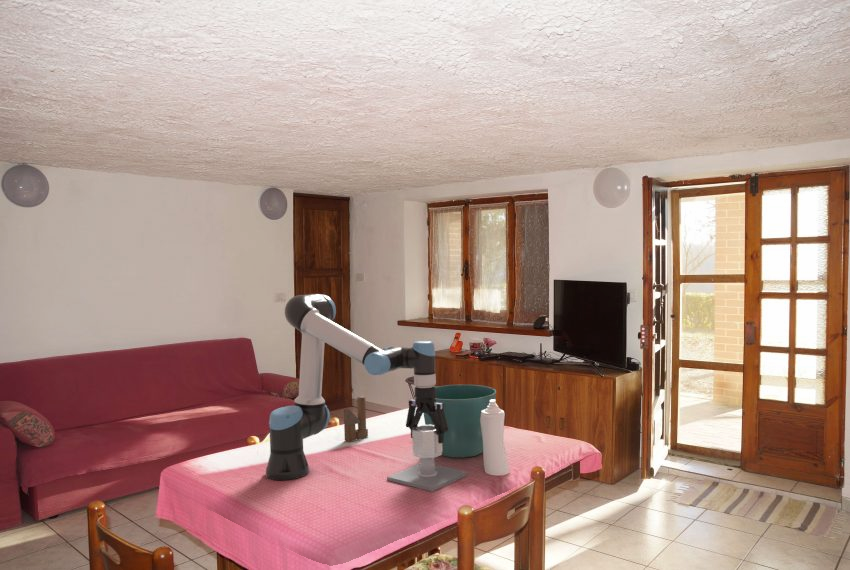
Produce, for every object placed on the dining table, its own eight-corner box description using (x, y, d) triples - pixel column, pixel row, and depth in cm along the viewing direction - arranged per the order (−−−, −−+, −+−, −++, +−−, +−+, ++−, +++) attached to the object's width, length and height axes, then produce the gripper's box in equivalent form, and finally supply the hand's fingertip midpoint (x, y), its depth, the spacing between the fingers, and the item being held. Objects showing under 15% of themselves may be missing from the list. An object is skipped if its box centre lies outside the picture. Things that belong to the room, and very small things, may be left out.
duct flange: (432, 491, 199) (431, 463, 199) (387, 480, 211) (386, 453, 211) (467, 475, 215) (467, 448, 214) (423, 465, 227) (422, 440, 227)
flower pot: (459, 468, 222) (457, 402, 222) (407, 452, 245) (405, 392, 245) (513, 451, 242) (511, 390, 242) (460, 437, 265) (458, 382, 264)
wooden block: (344, 441, 264) (343, 399, 264) (362, 435, 272) (361, 395, 272) (350, 442, 262) (348, 400, 262) (368, 437, 270) (367, 396, 270)
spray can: (473, 471, 219) (471, 401, 218) (489, 463, 227) (487, 396, 227) (501, 477, 212) (499, 405, 211) (516, 468, 220) (515, 399, 220)
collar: (429, 459, 206) (428, 432, 206) (407, 454, 212) (407, 429, 212) (446, 452, 214) (446, 427, 213) (425, 448, 220) (424, 423, 219)
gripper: (457, 386, 209) (459, 452, 209) (407, 381, 223) (409, 443, 223) (444, 390, 203) (446, 457, 203) (394, 384, 217) (396, 447, 217)
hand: (427, 450), depth 213 cm, fingers closed on collar, 10 cm apart
